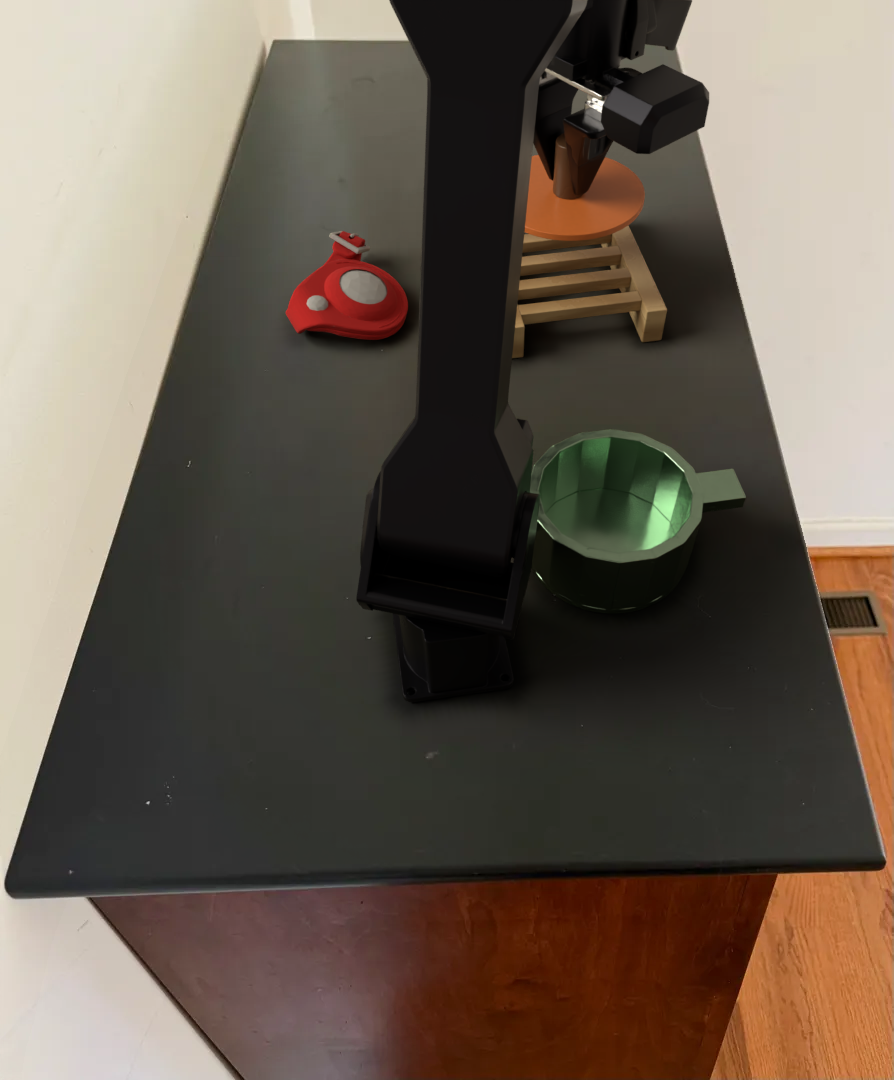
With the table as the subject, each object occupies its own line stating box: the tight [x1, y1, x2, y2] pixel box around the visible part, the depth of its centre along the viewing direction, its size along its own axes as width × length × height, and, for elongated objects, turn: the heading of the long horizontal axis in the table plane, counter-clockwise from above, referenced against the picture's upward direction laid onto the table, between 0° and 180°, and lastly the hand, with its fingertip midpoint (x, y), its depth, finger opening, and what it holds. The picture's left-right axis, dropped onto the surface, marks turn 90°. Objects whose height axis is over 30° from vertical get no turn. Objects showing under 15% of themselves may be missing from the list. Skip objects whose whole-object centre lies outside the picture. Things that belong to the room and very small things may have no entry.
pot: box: [530, 428, 747, 615], centre depth 57 cm, size 10×16×6 cm, turn 98°
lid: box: [524, 133, 646, 241], centre depth 67 cm, size 11×11×5 cm
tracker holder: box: [285, 230, 409, 341], centre depth 74 cm, size 12×4×10 cm
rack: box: [512, 225, 668, 359], centre depth 74 cm, size 16×13×3 cm
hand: (568, 185), depth 68 cm, fingers closed on lid, 2 cm apart
